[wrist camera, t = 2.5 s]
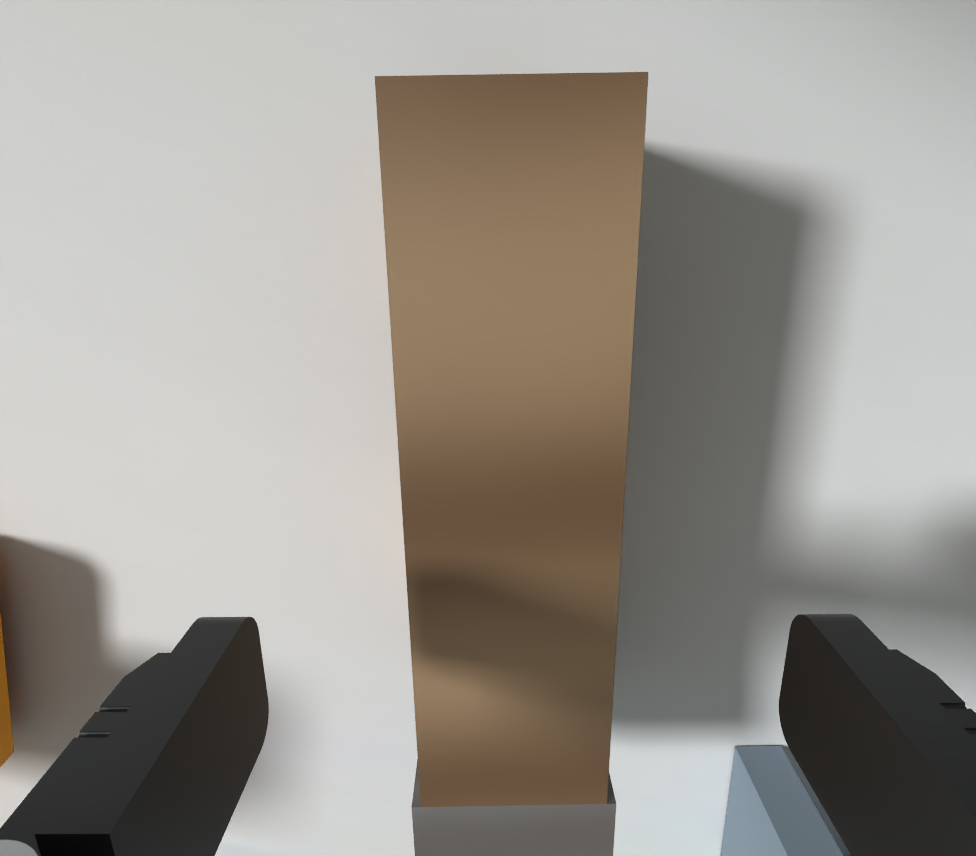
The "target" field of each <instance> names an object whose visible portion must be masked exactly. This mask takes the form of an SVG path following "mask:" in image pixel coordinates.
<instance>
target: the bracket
mask: <svg viewBox="0 0 976 856" xmlns="http://www.w3.org/2000/svg"><path fill="white" fill-rule="evenodd" d="M13 752H14V746H13V736H12V726H11V716H10V705H9V695H8V685H7V675H6V664H5V654H4V644H3V634H2V623H1V613H0V767H1V766H2V765H3V764H4V762H5V761H6V760H7V759H8V758H9V757H10V756H11V754H12V753H13Z"/></svg>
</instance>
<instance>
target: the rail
mask: <svg viewBox="0 0 976 856" xmlns="http://www.w3.org/2000/svg"><path fill="white" fill-rule="evenodd" d="M375 86H376V102H377V118H378V134H379V150H380V165H381V181H382V197H383V213H384V229H385V245H386V260H387V276H388V292H389V308H390V324H391V339H392V355H393V371H394V387H395V403H396V419H397V434H398V450H399V466H400V482H401V498H402V514H403V529H404V545H405V561H406V577H407V593H408V609H409V624H410V640H411V656H412V672H413V688H414V704H415V719H416V735H417V751H418V761H417V769H416V777H415V785H414V793H413V801H412V818H413V833H414V847H415V856H613V846H614V830H615V814H616V801H615V797H614V792H613V788H612V783H611V779H610V775H609V757H610V740H611V722H612V704H613V687H614V669H615V651H616V634H617V616H618V598H619V581H620V563H621V546H622V528H623V510H624V493H625V475H626V457H627V440H628V422H629V404H630V387H631V369H632V351H633V334H634V316H635V299H636V281H637V263H638V246H639V228H640V210H641V193H642V175H643V157H644V140H645V122H646V104H647V87H648V72H620V73H557V74H494V75H431V76H375Z"/></svg>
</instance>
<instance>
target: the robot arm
mask: <svg viewBox="0 0 976 856" xmlns="http://www.w3.org/2000/svg"><path fill="white" fill-rule="evenodd" d="M779 715H780V722H781V727H782V731H783V734H784V737H785V740H786V742H787V745H788V747H789V748H790V750H791V752H792V754H793V755H794V757H795V759H796V761H797V762H798V764H799V766H800V767H801V769H802V771H803V773H804V774H805V776H806V778H807V780H808V781H809V783H810V785H811V786H812V788H813V790H814V792H815V793H816V795H817V797H818V798H819V800H820V802H821V804H822V805H823V807H824V809H825V810H826V812H827V814H828V816H829V817H830V819H831V821H832V822H833V824H834V826H835V828H836V829H837V831H838V833H839V835H840V836H841V838H842V840H843V841H844V843H845V845H846V847H847V848H848V850H849V852H850V853H851V855H852V856H976V713H975V712H974V711H973V710H972V709H967V708H966V707H965V702H964V701H963V700H962V699H961V698H960V697H959V696H958V695H957V694H956V693H955V692H954V691H953V690H952V689H951V688H950V687H949V686H947V685H946V684H945V683H944V682H943V681H942V680H941V679H940V678H939V677H938V676H937V675H936V674H935V673H934V672H932V671H930V670H929V669H927V668H926V667H924V666H922V665H921V664H919V663H917V662H916V661H914V660H913V659H911V658H909V657H908V656H906V655H904V654H903V653H901V652H900V651H898V650H889V649H888V648H887V647H886V646H885V645H884V644H883V643H882V642H881V641H880V640H879V639H878V638H877V637H876V636H875V635H874V634H873V633H872V632H871V630H870V629H869V628H868V627H867V626H866V625H865V624H864V623H863V622H862V621H861V620H860V619H859V618H858V617H856V616H854V615H851V614H807V615H797V616H796V617H795V618H794V620H793V621H792V624H791V628H790V633H789V640H788V646H787V653H786V659H785V665H784V672H783V678H782V685H781V691H780V698H779ZM267 724H268V696H267V689H266V682H265V674H264V667H263V660H262V652H261V645H260V638H259V631H258V626H257V623H256V621H255V620H254V618H252V617H201V618H199V619H197V620H196V621H195V622H194V623H193V624H192V626H191V627H190V628H189V630H188V631H187V632H186V634H185V635H184V636H183V638H182V639H181V640H180V642H179V643H178V644H177V646H176V647H175V648H174V650H173V651H172V652H171V653H157V654H156V655H155V656H153V657H152V658H150V659H149V660H148V661H146V662H145V663H143V664H142V665H141V666H139V667H138V668H136V669H135V670H134V671H132V672H131V673H129V674H128V675H127V676H125V677H124V678H123V679H122V680H121V682H120V683H119V684H118V685H117V686H116V688H115V689H114V690H113V691H112V693H111V694H110V695H109V696H108V697H107V699H106V700H105V701H104V702H103V704H102V705H101V706H100V711H99V712H95V713H94V715H93V716H92V717H91V718H90V719H89V721H88V722H87V723H86V724H85V726H84V727H83V728H82V729H81V730H80V735H79V737H78V738H74V739H73V740H72V741H71V743H70V744H69V745H68V746H67V748H66V749H65V750H64V751H63V752H62V754H61V755H60V756H59V757H58V759H57V760H56V761H55V762H54V763H53V765H52V766H51V767H50V768H49V770H48V771H47V772H46V773H45V774H44V776H43V777H42V778H41V779H40V781H39V782H38V783H37V784H36V785H35V787H34V788H33V789H32V790H31V792H30V793H29V794H28V795H27V796H26V798H25V799H24V800H23V801H22V803H21V804H20V805H19V806H18V807H17V809H16V810H15V811H14V812H13V814H12V815H11V816H10V817H9V818H8V820H7V821H6V822H5V823H4V825H3V826H2V827H1V828H0V856H215V853H216V851H217V849H218V846H219V844H220V842H221V840H222V837H223V835H224V833H225V830H226V828H227V826H228V824H229V821H230V819H231V817H232V815H233V812H234V810H235V808H236V805H237V803H238V801H239V799H240V796H241V794H242V792H243V790H244V787H245V785H246V783H247V780H248V778H249V776H250V774H251V771H252V769H253V767H254V765H255V762H256V760H257V758H258V755H259V753H260V751H261V748H262V746H263V742H264V739H265V735H266V730H267Z"/></svg>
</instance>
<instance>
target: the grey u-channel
mask: <svg viewBox="0 0 976 856" xmlns="http://www.w3.org/2000/svg"><path fill="white" fill-rule="evenodd" d="M721 856H843V854H842V852H841V851H840V849H839V847H838V845H837V843H836V842H835V840H834V838H833V836H832V835H831V833H830V831H829V829H828V828H827V826H826V824H825V822H824V821H823V819H822V817H821V815H820V814H819V812H818V810H817V808H816V806H815V805H814V803H813V801H812V799H811V798H810V796H809V794H808V792H807V791H806V789H805V787H804V785H803V784H802V782H801V780H800V778H799V776H798V775H797V773H796V771H795V769H794V768H793V766H792V764H791V762H790V761H789V759H788V757H787V755H786V754H785V752H784V750H783V748H782V747H781V746H735V752H734V759H733V767H732V774H731V781H730V789H729V796H728V804H727V811H726V819H725V826H724V833H723V841H722V848H721Z"/></svg>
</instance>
